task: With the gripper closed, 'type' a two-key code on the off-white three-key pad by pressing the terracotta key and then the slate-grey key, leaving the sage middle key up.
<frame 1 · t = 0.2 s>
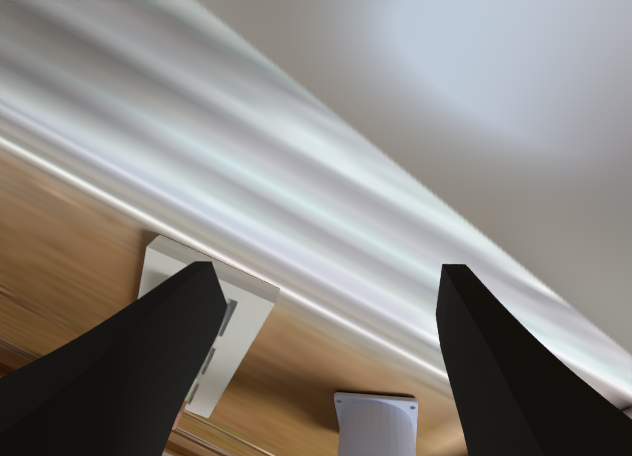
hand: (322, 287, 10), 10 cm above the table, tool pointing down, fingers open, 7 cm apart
key terracotta: (163, 401, 31), point 3 cm above the table, slide at 0.0 cm
key sage: (175, 368, 27), point 3 cm above the table, slide at 0.0 cm
keypad: (192, 337, 30), on the table
key slate: (190, 323, 23), point 3 cm above the table, slide at 0.0 cm
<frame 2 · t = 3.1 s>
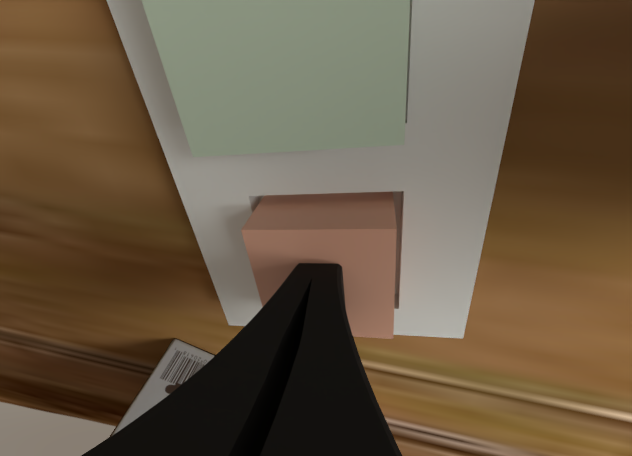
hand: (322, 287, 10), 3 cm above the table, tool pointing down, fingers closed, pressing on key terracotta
key terracotta: (327, 264, 11), point 2 cm above the table, slide at 1.2 cm, touching gripper
key sage: (288, 22, 6), point 3 cm above the table, slide at 0.0 cm
keypad: (314, 25, 9), on the table
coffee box: (204, 385, 21), on the table
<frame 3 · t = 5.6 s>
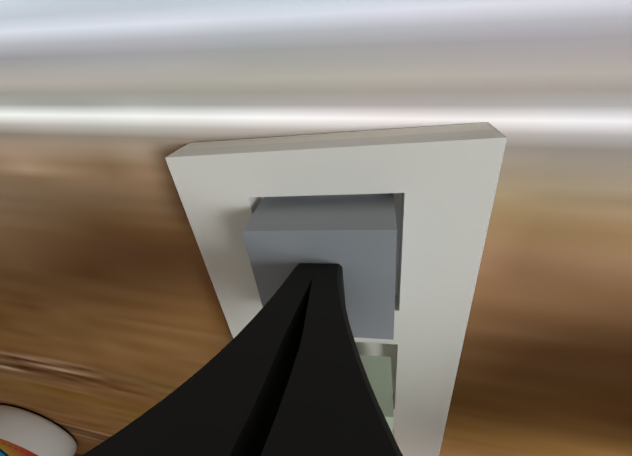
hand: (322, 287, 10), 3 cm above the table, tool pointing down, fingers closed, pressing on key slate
key sage: (338, 409, 13), point 3 cm above the table, slide at 0.0 cm
keypad: (344, 346, 16), on the table
key slate: (327, 265, 11), point 2 cm above the table, slide at 1.2 cm, touching gripper, keypad
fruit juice: (36, 426, 30), on the table
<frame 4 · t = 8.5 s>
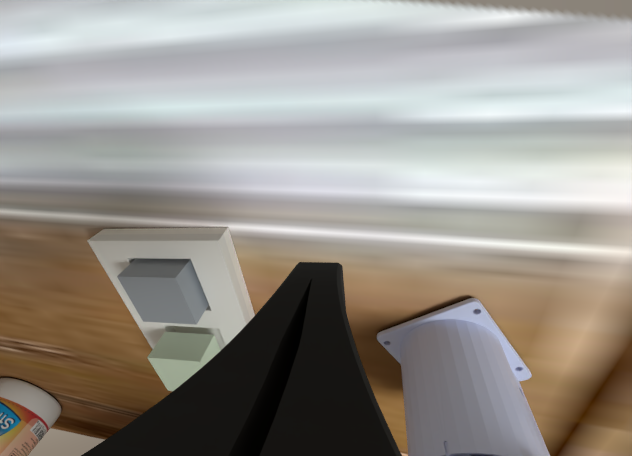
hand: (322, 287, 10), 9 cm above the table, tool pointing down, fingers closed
key sage: (190, 363, 25), point 3 cm above the table, slide at 0.0 cm
keypad: (208, 331, 28), on the table
key slate: (167, 289, 22), point 2 cm above the table, slide at 1.2 cm
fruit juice: (31, 394, 42), on the table
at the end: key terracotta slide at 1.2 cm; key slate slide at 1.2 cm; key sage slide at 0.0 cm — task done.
